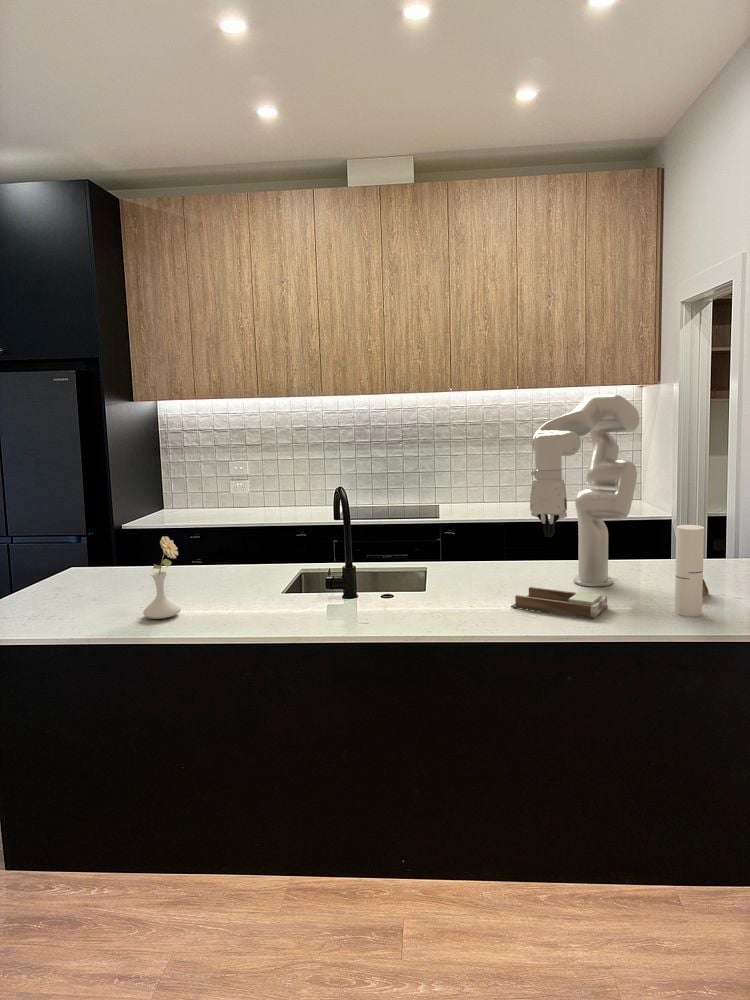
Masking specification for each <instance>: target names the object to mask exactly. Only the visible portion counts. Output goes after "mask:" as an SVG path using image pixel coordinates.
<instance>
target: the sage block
mask: <svg viewBox="0 0 750 1000" xmlns="http://www.w3.org/2000/svg"><path fill="white" fill-rule="evenodd" d="M575 593H576V594H575V595H573V596H572V597H571V598H569V602H572V603H579V604H587V605H593V604H594V603H595V602H597V601H598V600H599V599H600V598H601V596H602V594H598V593H589V592H582V591H577V592H575Z"/></svg>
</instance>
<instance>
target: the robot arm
mask: <svg viewBox="0 0 750 1000" xmlns="http://www.w3.org/2000/svg"><path fill="white" fill-rule="evenodd" d="M639 424H640V414H639V412H638V410H637V408H636V407H635V405H633V404H632V403H631V402H630V401H629V400H627V399H626V397H623V396H621V395H620V394H595V395H594V394H592V395H588V396H585V398H583V400H581V402H579V404H577V406H576V407H575V408H574V409H572V410H571V411H570V412H569V413H568V412H567V413H565V414H563V415H561V416H558V417H556V418H553V419H551V420H548V421H546V422H544V423H543V424H542V425H541V426H540V427H539V428H538V429H537V430H536V432H534V434H533V436H532V439H531V448H532V451H533V452H534V454H535V455H534V458H535V459H534V461H535V462H534V463H535V465H534V466H535V467H534V468H535V469H534V470H532V471H530V474H531V476H533V477H534V479H533V480H532V482H531V487H530V489H531V490H530V495H529V496H530V499H529V510H530V512H531V516H532V517H535V518H538V519H539V520H540V522H541V523H542V525H543V528H542V529H543V530H542V531H543V532H542V533H543V535H544V537H545V538H551V537H553V536H554V535H555V533H556V531H555V530H556V526H555V525H556V523H557V522H558V521H559V520H560V519H565V518H567V517H568V514H567V510H568V498H567V490H566V483H565V480H564V479H562V476H563V475H562V473H563V472H562V469H563V468H562V467H563V466H562V462H563V461H562V460H563V459H562V457H570V456H574V455H576V454H577V453H578V452H579V450H580V447H581V438H580V437H582V436H585V435H587V434H589V435H590V438H591V442H592V451H591V455H590V459H589V464H588V468H587V471H586V472H587V473H586V482H587V484H588V485H590V487H594V488H587V489H583V490H582V489H581V491H579V492H578V493H577V495H576V497H575V502H574V503H575V510H576V515H577V525H578V530H577V531H578V575H576V576H574V577H573V583H575V584H576V585H580V586H584V587H592V588H593V587H595V588H596V587H598V588H599V587H600V588H601V587H607V586H611V585H612V584H613V583H614V581H613V578H612V577H610V576H609V531H608V530H609V529H608V527H607V525H606V523H605V522H604V520H603V519H606V520H613V521H614V520H615V521H620V520H625V519H626V518H627V517H628V516H629V515H630V512H631V511H630V510H631V508H632V502H633V498H634V494H635V489H636V485H637V484H636V483H637V478H638V477H637V476H638V472H637V471H638V470H637V467H636V465H635V463H634V462H632V461H630V460H626V459H625V460H624V459H623V460H622V459H618V458H619V452H620V447H619V444H618V443H617V441H616V440H615V438H614V437H613V436H612V434H611V433H632V432H634V431H636V430H637V428H638V427H639ZM599 488H600V489H599ZM612 489H615V490H612Z"/></svg>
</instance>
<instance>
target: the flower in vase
mask: <svg viewBox="0 0 750 1000" xmlns="http://www.w3.org/2000/svg"><path fill="white" fill-rule="evenodd" d="M159 544H160V548H161V549H162V552H163V555H162V558H161V562H160V565H158V564H155V563H154V564H153V567H152V569H157V570H158V569H159V570H158V571H154V572H151V574H149V575H150V576H151V577H152V579H153V580H154V582H155V588H156V597H154V599H153V600H152V602H151V603H149V604H148V605H147V606H146V607H145V608H144V610H143V615H144V616H145V618H147V619H157V620H159V619H160V620H161V619H167V618H171V617H174V616H176V615H178V614H180V612H181V611H182V607H181V606H180V605H179V604H178V603H177V602H176V601H174V600H172V599H170V598H169V597H167V595H166V593H165V578H166V576H167V574H168V572H167V571H161V570H162V568H163V565H164V566H165V567H166V568H168V567H170V566H171V565H172V561H171V560H169V559H167V558H170V559H177V556H179V551H178V547H177V546H176V543H175V544H174V540H173V539H172V540H171V539H170V538H169V536H167V535H166V536H163V535H162V537H161V538H160V540H159ZM165 556H167V558H165V559H164V557H165Z"/></svg>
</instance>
